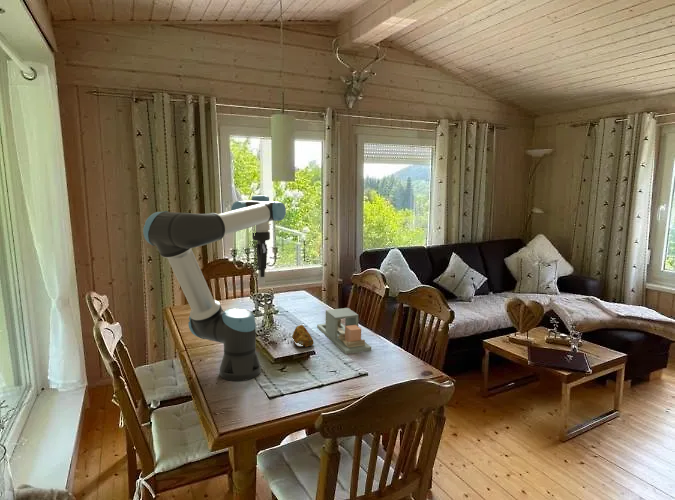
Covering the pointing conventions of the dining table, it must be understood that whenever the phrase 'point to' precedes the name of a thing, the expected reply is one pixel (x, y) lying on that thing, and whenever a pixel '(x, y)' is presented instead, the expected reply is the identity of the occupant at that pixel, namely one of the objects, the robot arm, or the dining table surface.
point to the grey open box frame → (342, 338)
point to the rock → (302, 336)
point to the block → (352, 333)
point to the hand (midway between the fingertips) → (261, 283)
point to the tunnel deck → (332, 328)
